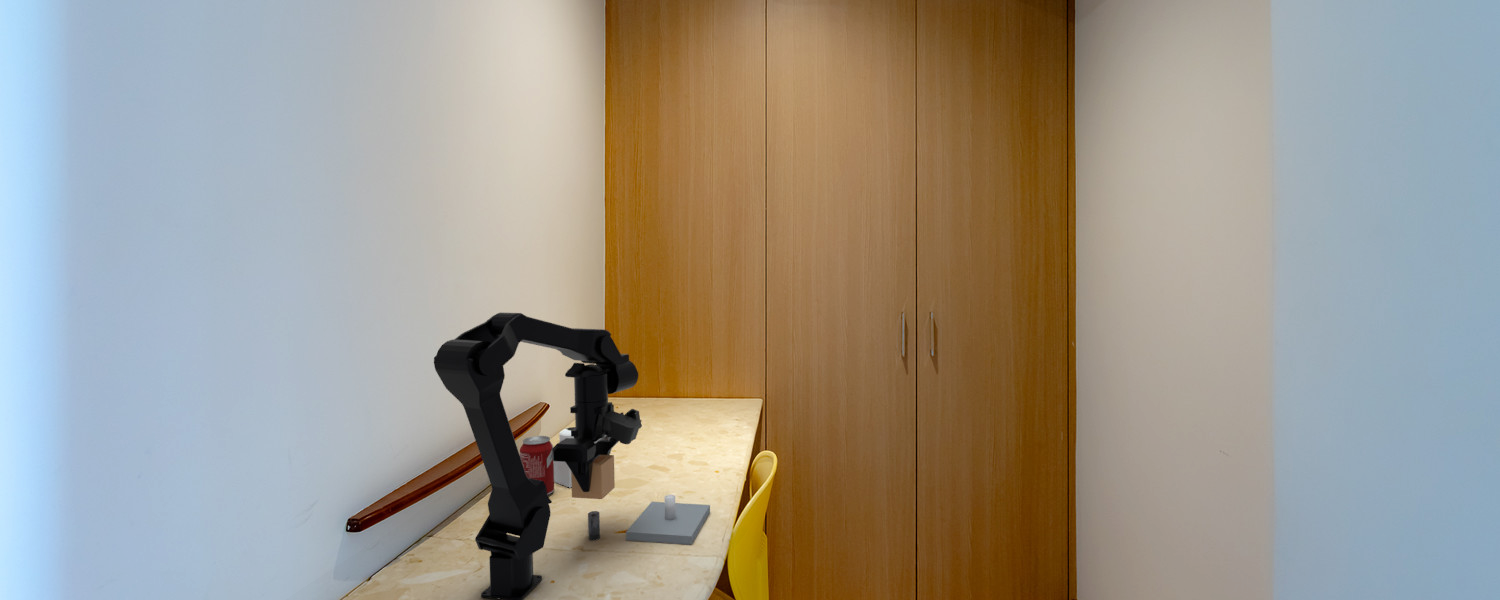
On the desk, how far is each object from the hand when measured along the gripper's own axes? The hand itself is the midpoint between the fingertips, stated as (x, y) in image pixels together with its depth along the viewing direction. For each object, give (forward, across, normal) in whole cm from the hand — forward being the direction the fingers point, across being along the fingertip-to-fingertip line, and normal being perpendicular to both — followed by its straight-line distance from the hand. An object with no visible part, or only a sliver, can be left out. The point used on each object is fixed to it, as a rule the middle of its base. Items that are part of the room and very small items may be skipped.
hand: (593, 485), depth 106 cm
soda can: (+10, +18, +21) cm, 29 cm away
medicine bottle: (+10, +27, +17) cm, 33 cm away
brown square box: (+1, 0, 0) cm, 1 cm away
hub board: (+10, +7, -12) cm, 17 cm away
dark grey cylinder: (+10, 0, 0) cm, 10 cm away
